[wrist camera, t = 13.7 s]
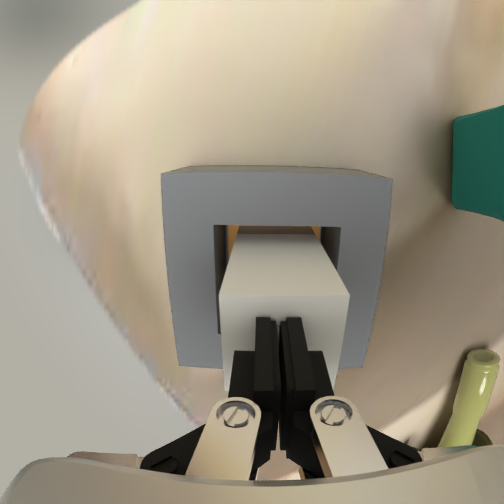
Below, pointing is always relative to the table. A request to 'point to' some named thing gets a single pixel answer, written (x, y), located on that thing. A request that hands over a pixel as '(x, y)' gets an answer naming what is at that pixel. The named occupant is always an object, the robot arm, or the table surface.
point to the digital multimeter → (479, 163)
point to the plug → (281, 292)
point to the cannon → (472, 400)
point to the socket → (269, 213)
